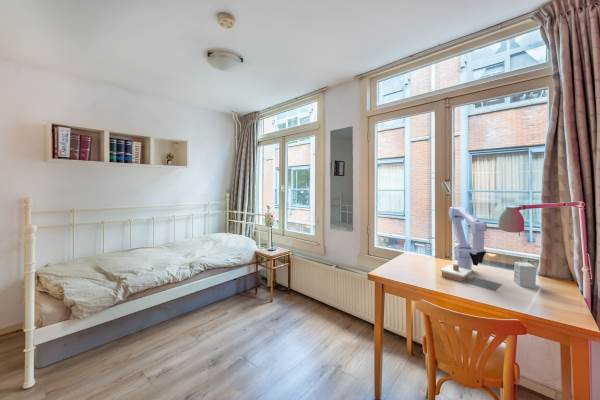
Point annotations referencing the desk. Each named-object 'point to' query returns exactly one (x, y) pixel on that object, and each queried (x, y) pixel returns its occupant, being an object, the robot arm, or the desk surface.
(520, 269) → the supplement box
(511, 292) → the desk surface
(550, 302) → the desk surface
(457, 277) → the dish
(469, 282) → the mat
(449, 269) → the lid
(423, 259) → the desk surface
